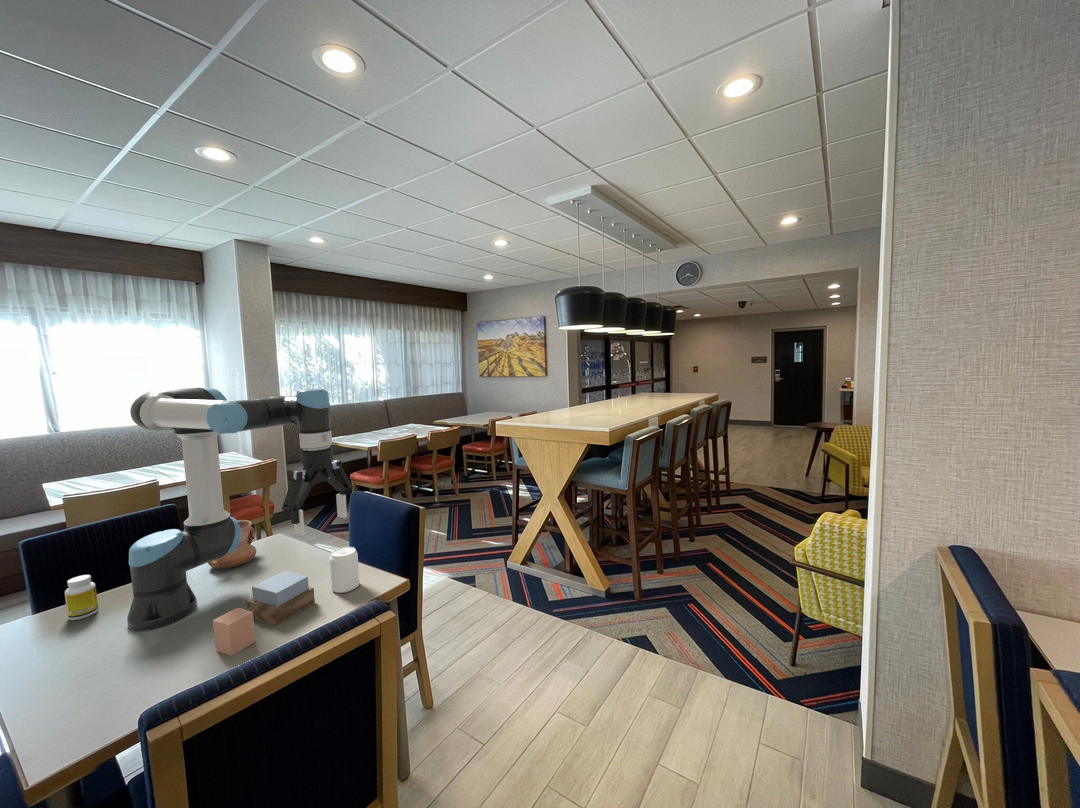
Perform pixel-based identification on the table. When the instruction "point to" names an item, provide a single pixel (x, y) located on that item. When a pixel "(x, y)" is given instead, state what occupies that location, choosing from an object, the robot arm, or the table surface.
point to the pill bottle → (81, 598)
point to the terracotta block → (234, 631)
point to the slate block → (280, 588)
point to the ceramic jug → (238, 549)
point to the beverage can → (344, 569)
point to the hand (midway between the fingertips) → (322, 525)
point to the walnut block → (281, 608)
